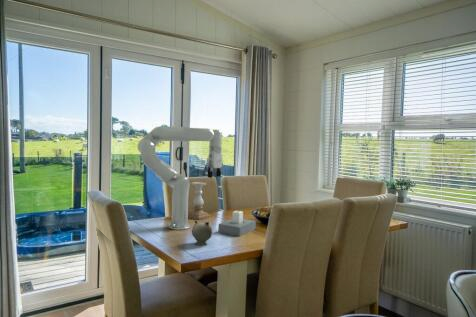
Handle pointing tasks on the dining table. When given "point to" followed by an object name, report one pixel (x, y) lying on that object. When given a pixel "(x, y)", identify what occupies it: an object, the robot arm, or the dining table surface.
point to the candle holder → (198, 203)
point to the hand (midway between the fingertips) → (214, 177)
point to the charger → (237, 217)
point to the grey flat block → (237, 227)
